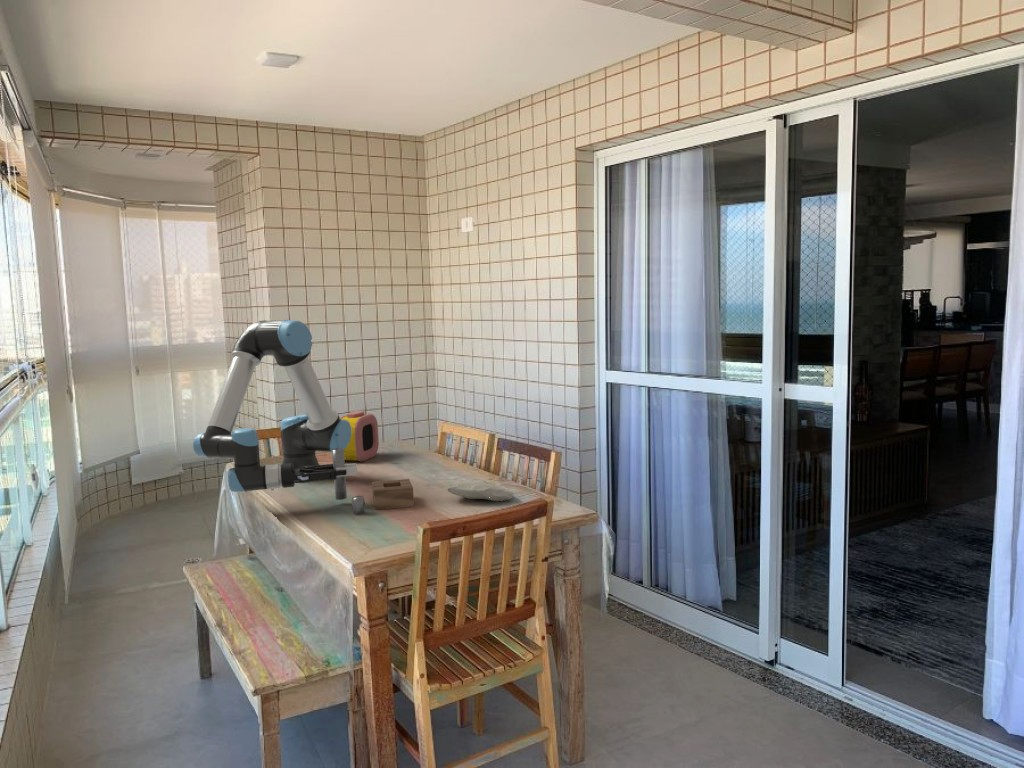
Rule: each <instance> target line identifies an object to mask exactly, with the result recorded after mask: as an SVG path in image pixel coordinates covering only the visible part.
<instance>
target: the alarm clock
mask: <svg viewBox="0 0 1024 768" xmlns="http://www.w3.org/2000/svg"><path fill="white" fill-rule="evenodd" d="M340 419H341V420H343V419H345V420H347V421H348V422H349V423H350V425H351V438H350V442H349V444H348V446H347V447H346V448H345V449H344V460H346V461H350V462H351V461H353V462H354V461H359V462H362V461H363V462H366V461H369V460H370V459H372V458H374V457H375V456H376V455H377V453H378V451H379V441H380V440H379V424H378V420H377V418H376V416H375V415H374V414H373V413H367V414H365V410H355V411H351V412H348V413H347V414H346V415H344V416H341V417H340Z"/></svg>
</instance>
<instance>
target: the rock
mask: <svg viewBox="0 0 1024 768" xmlns="http://www.w3.org/2000/svg"><path fill="white" fill-rule="evenodd" d="M447 491H448V492H449V493H450V494H452V495H455V496H459V497H462V498H465V499H468V500H475V499H479V500H480V499H482V500H488V501H493V502H498V501H501V500H504V501H509V500H511V499H512V498H513V497H514V495H513V492H512V491H511V490H509V489H505V488H502V487H500V486H498V485H495V484H492V483H490V482H488V481H486V480H480V479H479V480H473V481H464V482H458V483H457V484H453V485H451V486H449V487H447ZM489 497H490V498H489ZM505 499H506V500H505Z"/></svg>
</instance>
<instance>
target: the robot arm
mask: <svg viewBox="0 0 1024 768" xmlns="http://www.w3.org/2000/svg"><path fill="white" fill-rule="evenodd" d="M312 340H313V336H312V333H311V331H310V329H309V327H308V326H307V325H306V324H305V322H302V321H300V320H296V319H295V320H293V319H285V320H284V319H283V320H258V321H256V322H254V323H252V324H250V325H249V326H248V327H246V328H245V329H244V330H243V332H242V333H241V334H240V335H239V337H238V338H237V340H236V342H235V344H234V346H233V348H232V351H231V353H230V356H231V358H232V360H231V362H230V365H229V368H228V370H227V373H226V376H225V379H224V381H223V384H222V387H221V389H220V392H219V395H218V398H217V400H216V403H215V405H214V408H213V410H212V414H211V416H210V419H209V421H208V424H207V427H206V430H205V432H203V433H198V434H197V436H196V437H194V439H193V442H192V448H193V451H194V453H195V454H196V455H197V456H198V457H202V458H209V459H212V458H213V459H214V458H215V459H216V458H218V459H229V460H230V459H231V460H233V462H234V463H233V464H234V466H233V468H229V469H228V471H227V482H228V487H229V490H230V491H231V492H233V493H236V492H237V493H239V492H244V493H246V492H251V491H252V492H253V491H261V490H271V491H274V490H275V489H280V488H281V487H282V488H284V489H285V488H293V487H295V483H299V482H301V483H302V484H305V483H309V482H317V481H318V482H319V481H326V480H333V481H334V480H336V477H342V476H346V477H350V476H351V477H352V476H358V466H357V463H346V464H345V467H343V468H336V469H333V463H329V464H320V463H319V460H318V458H317V456H316V455H317V454H316V452H328V453H332V449H336V448H343V449H345V448H346V447H347V446H348V444H349V442H350V438H351V425H350V423H349V422H348V421H347V420H345V419H343V420H341V419H340V418H341V417H340V415H339V413H338V412H337V410H336V409H333V408H331V406H330V404H329V401H328V400H327V397H326V393H325V392H324V390H323V388H322V385H321V384H320V381H319V379H318V375H317V374H316V371H315V370H314V368H313V365H312V363H311V361H310V358H309V357H310V355H311V350H312V346H313V342H312ZM265 356H273V357H274V359H275V361H276V364H277V365H278V366H279V367H281V368H284V369H285V370H284V371H285V373H286V374H287V376H288V378H289V380H290V383H291V384H292V386H293V389H294V391H295V393H296V395H297V398H298V400H299V402H300V404H301V406H302V408H303V410H304V413H305V414H300V415H294V416H293V415H292V416H289V417H286V418H283V419H282V420H281V422H280V435H281V448H282V462H281V464H278V463H275V464H265V465H264V464H263V465H261V461H260V446H259V445H260V444H259V442H260V441H259V438H258V432H257V430H256V429H255V428H252V427H243V428H241V427H240V428H237V429H234V426H235V424H236V421H237V419H238V416H239V413H240V409H241V407H242V404H243V402H244V399H245V397H246V394H247V391H248V387H249V385H250V384H251V383H250V382H251V379H252V378H253V374H254V371H255V369H256V367H257V366H259V365H260V364H261V361H262V359H263V358H264V357H265ZM233 429H234V430H233Z"/></svg>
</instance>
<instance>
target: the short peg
mask: <svg viewBox="0 0 1024 768" xmlns="http://www.w3.org/2000/svg"><path fill="white" fill-rule="evenodd" d="M351 500H352V514H353V515H354V514H355V516H361V514H362V515H364V513H365V514H366V508H365V507H366V504H365V495H364V496H363V495H355V496H353V497H352V499H351Z"/></svg>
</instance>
